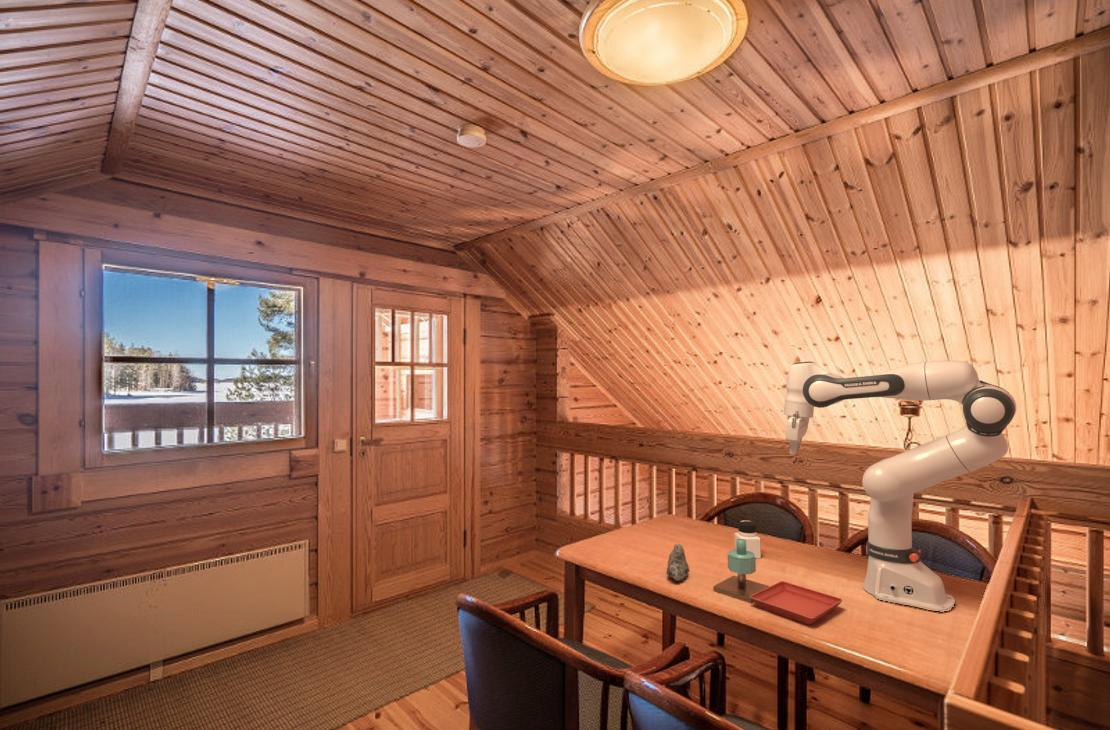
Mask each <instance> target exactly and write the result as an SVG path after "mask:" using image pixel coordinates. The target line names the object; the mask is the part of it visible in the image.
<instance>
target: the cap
mask: <svg viewBox="0 0 1110 730" xmlns="http://www.w3.org/2000/svg"><path fill="white" fill-rule="evenodd" d="M756 564H757V563H756V558H755V554H754V553H753V552H750V551H747V550H746V540H745V539H736V549H735V548H734V549H731V550H729V551H728V554H727V568H728V570H729V571H730V572H732V573H736V574H737V575H738V574H746V575H752V574H754V573H756V571H757V569H756V568H757V565H756Z"/></svg>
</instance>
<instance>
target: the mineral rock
mask: <svg viewBox="0 0 1110 730" xmlns="http://www.w3.org/2000/svg"><path fill="white" fill-rule="evenodd" d="M685 553H686V552H685V549H684V547H683V545H682V544H681V543H674V546H673V549H672V550H671V551H670V553H669V555H668V561H667V567H666V575H667V576H668V577H671V578H672V579H673V580H675V581H677V582H678V581H682V580H684V579H685V578H686V577H687V576H688V575H689V573H690V567H689V564H688V562H687V559H686V558H687V557H686V554H685Z"/></svg>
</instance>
